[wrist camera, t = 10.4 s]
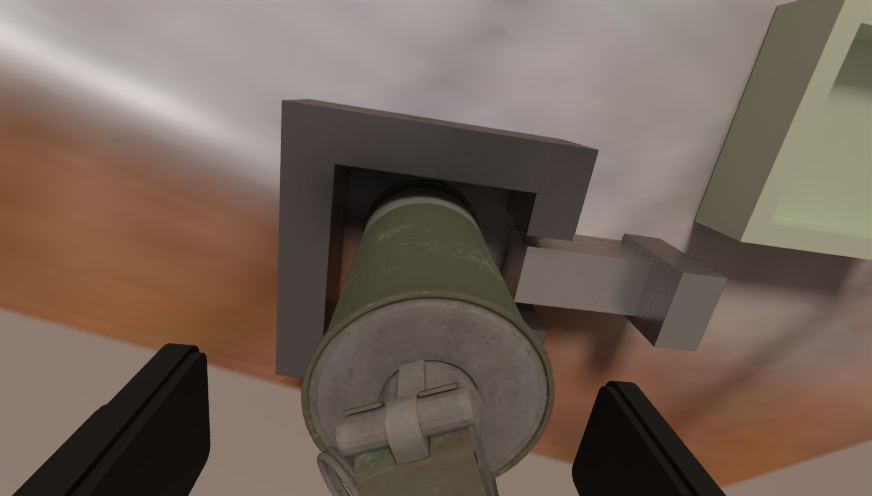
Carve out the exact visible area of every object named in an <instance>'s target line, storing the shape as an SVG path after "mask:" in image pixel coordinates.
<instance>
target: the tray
mask: <svg viewBox="0 0 872 496" xmlns="http://www.w3.org/2000/svg"><path fill="white" fill-rule="evenodd" d="M695 222H697V223H700V224H702V225H704V226H706V227H709V228H711V229H713V230H715V231H718V232H720V233H722V234H724V235H727V236H729V237H731V238H733V239H735V240H738V241H740V242H747V243H754V244H761V245H768V246H775V247H782V248H790V249H797V250H804V251H811V252H818V253H825V254H833V255H840V256H847V257H854V258H861V259H868V260H872V0H799V1H795V2H791V3H787V4H783V5H779V6H778V7H777V9H776V12H775V15H774V17H773V20H772V22H771V25H770V27H769V30H768V33H767V35H766V38H765V40H764V43H763V46H762V48H761V51H760V53H759V56H758V58H757V61H756V64H755V66H754V69H753V71H752V74H751V77H750V79H749V82H748V84H747V87H746V89H745V92H744V95H743V97H742V100H741V102H740V105H739V107H738V110H737V113H736V115H735V118H734V120H733V123H732V126H731V128H730V131H729V133H728V136H727V138H726V141H725V144H724V146H723V149H722V151H721V154H720V157H719V159H718V162H717V164H716V167H715V169H714V172H713V175H712V177H711V180H710V182H709V185H708V188H707V190H706V193H705V195H704V198H703V200H702V203H701V206H700V208H699V211H698V213H697V216H696V218H695Z"/></svg>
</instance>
